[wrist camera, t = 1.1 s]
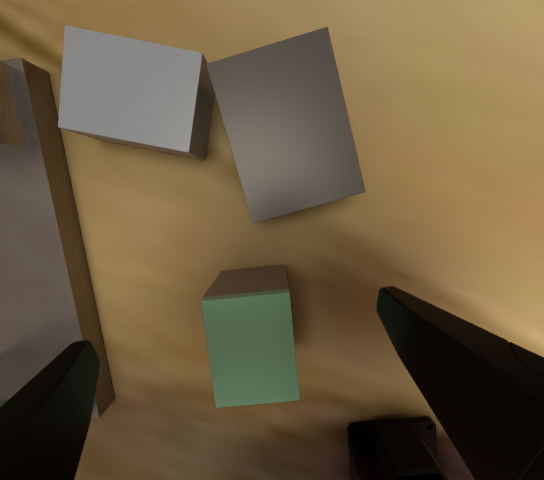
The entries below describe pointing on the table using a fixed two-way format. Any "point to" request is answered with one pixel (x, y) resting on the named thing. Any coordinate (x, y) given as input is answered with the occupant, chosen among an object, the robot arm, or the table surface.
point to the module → (251, 337)
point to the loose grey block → (287, 125)
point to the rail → (40, 240)
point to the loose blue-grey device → (135, 93)
